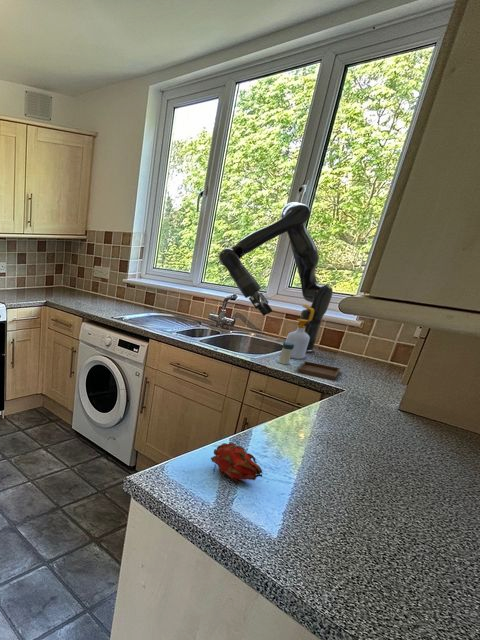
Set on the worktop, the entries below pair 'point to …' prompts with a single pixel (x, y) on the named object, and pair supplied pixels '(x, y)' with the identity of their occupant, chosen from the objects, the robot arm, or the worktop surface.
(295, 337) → the soap bottle
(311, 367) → the tray
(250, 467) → the dragon fruit
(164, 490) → the worktop surface
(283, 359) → the shaving stick
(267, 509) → the worktop surface
